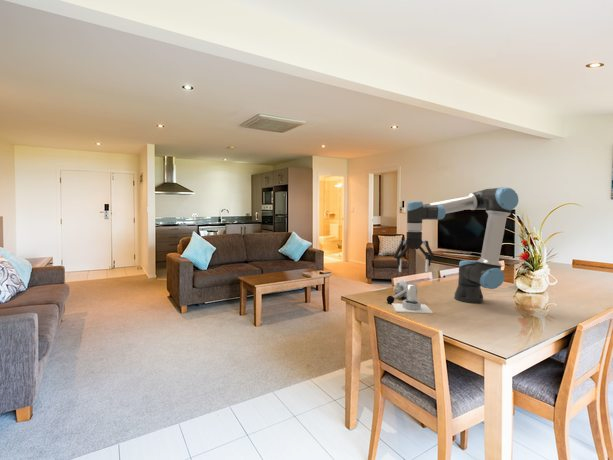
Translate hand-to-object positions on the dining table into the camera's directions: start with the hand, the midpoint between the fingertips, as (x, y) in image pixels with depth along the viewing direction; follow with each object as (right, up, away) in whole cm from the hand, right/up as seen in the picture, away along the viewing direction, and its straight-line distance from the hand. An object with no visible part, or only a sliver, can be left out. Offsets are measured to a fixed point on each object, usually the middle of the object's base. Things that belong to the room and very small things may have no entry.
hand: (413, 271), depth 169 cm
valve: (-3, -19, +18) cm, 26 cm away
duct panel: (-1, -19, +1) cm, 20 cm away
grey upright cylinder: (-1, -19, +1) cm, 19 cm away
